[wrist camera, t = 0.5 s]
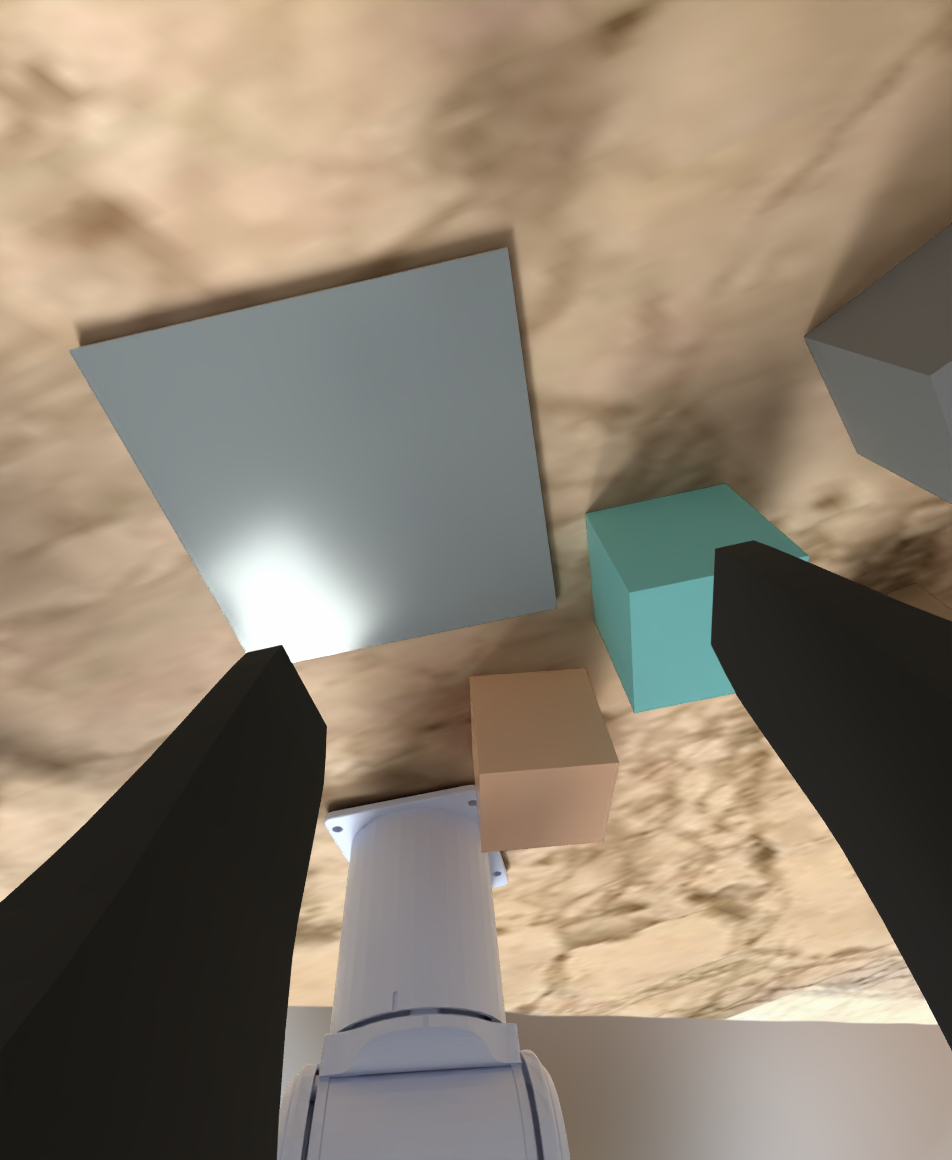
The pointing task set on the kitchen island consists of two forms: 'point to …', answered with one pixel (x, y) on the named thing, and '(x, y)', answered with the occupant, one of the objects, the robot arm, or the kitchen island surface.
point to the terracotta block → (540, 760)
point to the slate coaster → (344, 456)
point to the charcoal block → (897, 367)
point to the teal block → (668, 589)
